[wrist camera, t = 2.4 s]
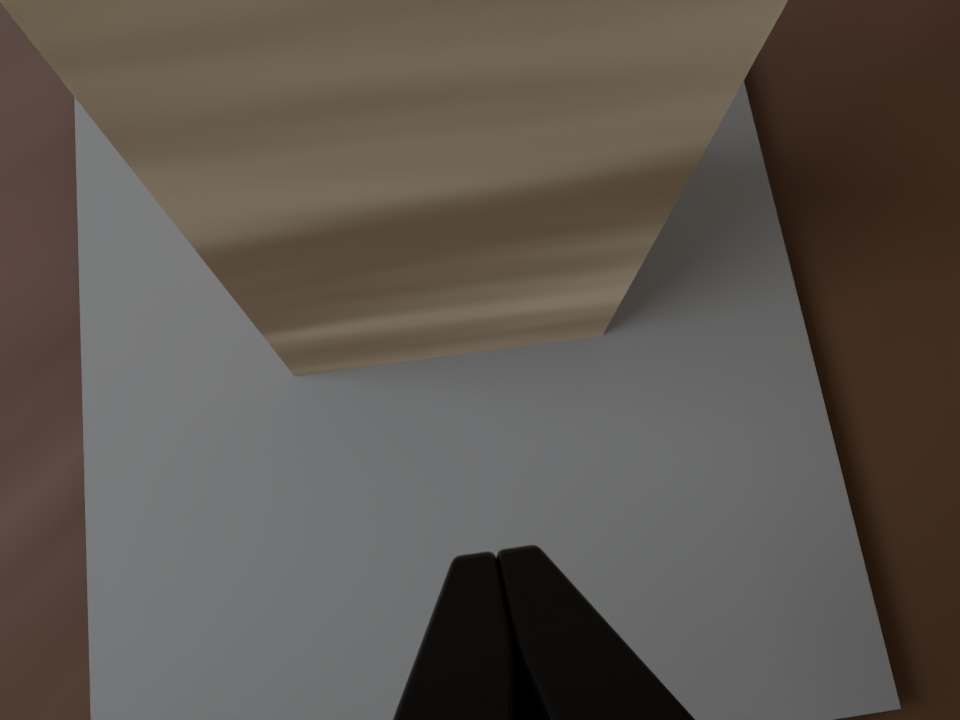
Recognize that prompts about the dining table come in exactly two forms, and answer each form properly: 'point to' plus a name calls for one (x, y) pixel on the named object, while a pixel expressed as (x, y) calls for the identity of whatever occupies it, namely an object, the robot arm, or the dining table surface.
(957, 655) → the dining table surface
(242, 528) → the rubber mat
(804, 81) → the dining table surface
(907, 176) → the dining table surface
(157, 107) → the birch block
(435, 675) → the robot arm
